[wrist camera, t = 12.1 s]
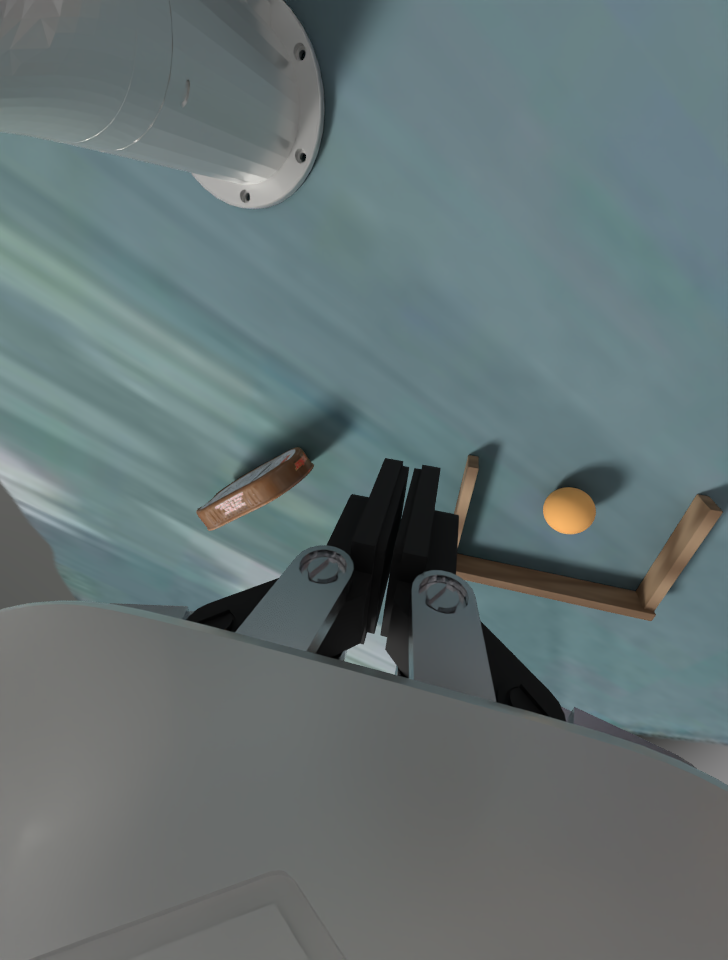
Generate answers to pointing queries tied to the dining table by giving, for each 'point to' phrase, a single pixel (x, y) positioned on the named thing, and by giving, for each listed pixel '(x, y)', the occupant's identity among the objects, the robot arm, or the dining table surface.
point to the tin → (256, 488)
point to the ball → (569, 510)
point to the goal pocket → (584, 592)
